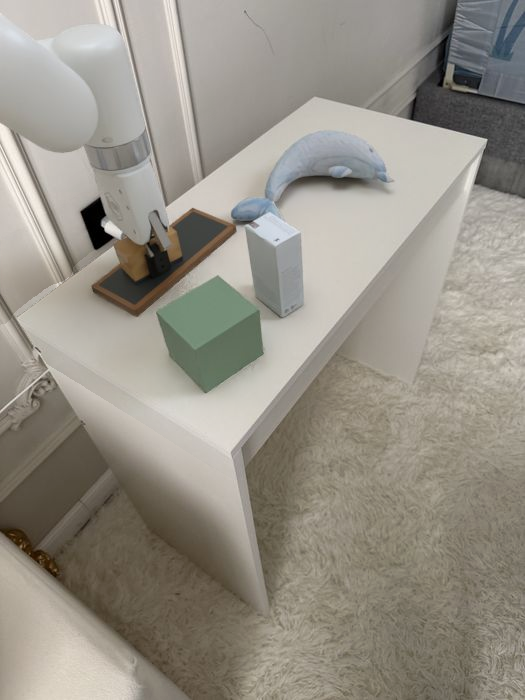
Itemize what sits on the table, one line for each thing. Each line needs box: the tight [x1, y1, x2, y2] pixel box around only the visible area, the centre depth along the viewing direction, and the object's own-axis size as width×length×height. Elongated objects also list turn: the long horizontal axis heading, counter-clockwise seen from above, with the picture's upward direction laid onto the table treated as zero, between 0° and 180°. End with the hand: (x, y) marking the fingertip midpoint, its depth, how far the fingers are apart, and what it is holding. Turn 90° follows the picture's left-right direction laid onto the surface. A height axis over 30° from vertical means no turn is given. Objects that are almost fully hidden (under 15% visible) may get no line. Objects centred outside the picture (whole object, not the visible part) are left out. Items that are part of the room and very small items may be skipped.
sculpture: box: [230, 129, 395, 223], centre depth 84 cm, size 18×8×25 cm
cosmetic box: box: [244, 212, 305, 318], centre depth 67 cm, size 6×4×12 cm
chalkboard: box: [90, 207, 237, 317], centre depth 78 cm, size 22×9×1 cm, turn 144°
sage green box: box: [155, 274, 264, 394], centre depth 63 cm, size 9×8×8 cm
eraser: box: [112, 226, 183, 285], centre depth 74 cm, size 8×4×5 cm, turn 130°
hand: (152, 263), depth 76 cm, fingers closed on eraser, 4 cm apart
